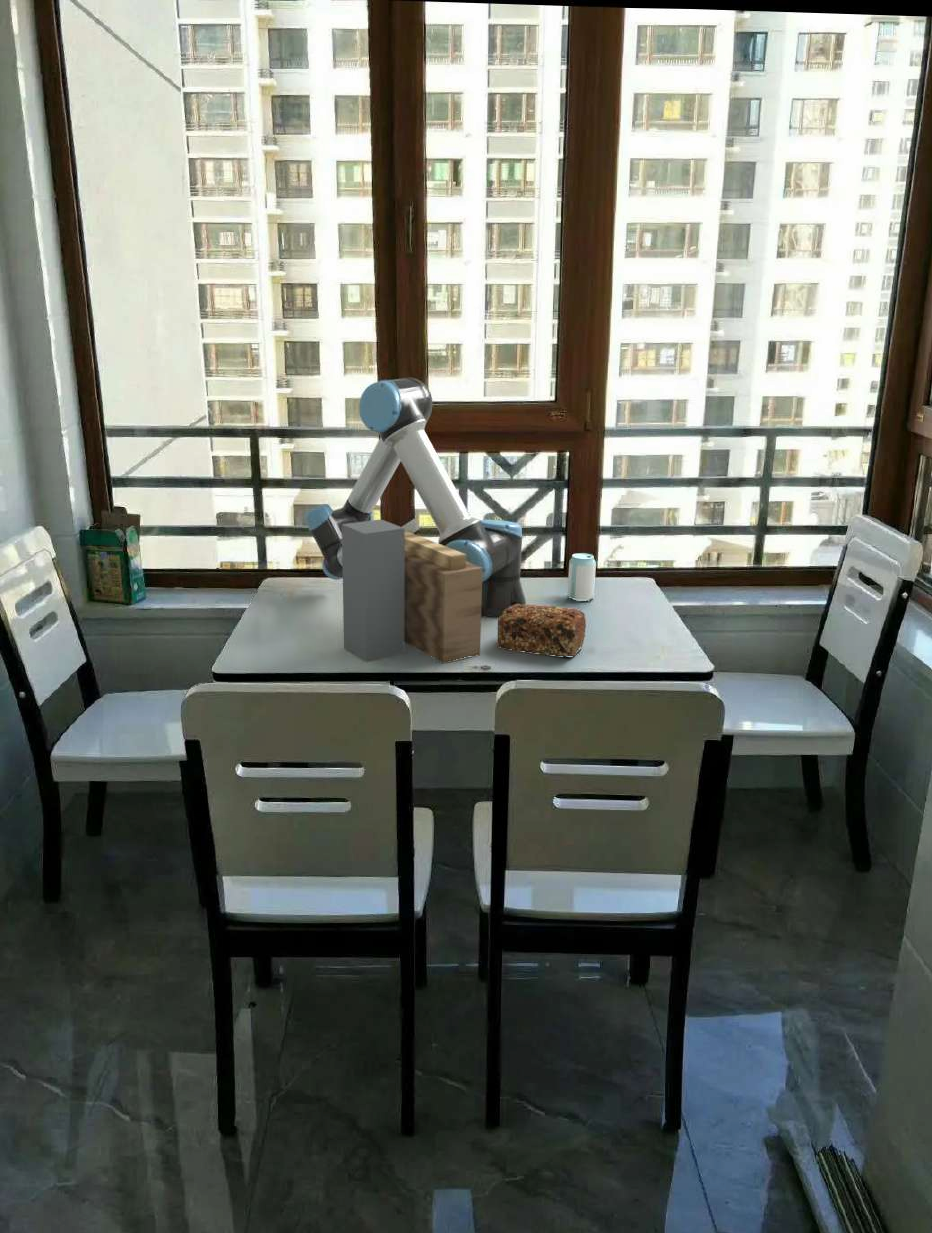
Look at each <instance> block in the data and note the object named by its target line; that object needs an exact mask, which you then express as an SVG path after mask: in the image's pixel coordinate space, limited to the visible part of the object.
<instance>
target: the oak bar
mask: <svg viewBox="0 0 932 1233" xmlns="http://www.w3.org/2000/svg"><path fill="white" fill-rule="evenodd" d="M405 552H409V553H411V554H413V555H416V556H418V557H421V558H423V559H426V560H428V561H430V562H433V563H435V564H438V565H440V566H442V567H445V568H447V569H450V570H455V569H461V568H466V554H464V553H461V552H459V551H456V550H454V549H451V548H448V547H446V546H443V545H441V544H439V543H438V542H435V541H432V540H430V539H427V538H424V537H422V536H420V535H418V534H415V533H414V534H412V533H410V532H407V531H405Z"/></svg>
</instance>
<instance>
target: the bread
mask: <svg viewBox="0 0 932 1233" xmlns="http://www.w3.org/2000/svg"><path fill="white" fill-rule="evenodd" d="M585 615H586V614H585V613H584V612H583V611H581V610H579V609H577V608H570V607H569V608H568V607H559V606H558V607H557V606H554V605H551V606H550V605H537V604H526V605H525V604H514V605H513V606H510V607H509V608H508V609H505V610H504V611H503V613H502V615H501V616H500V617H499V619H497V620H498V621H497V637H496V638H497V644H498V648H499V647H501V648H506V649H505V650H509V649H512V650H511V651H513V650H519V651H525V652H524V653H527V652H532V653H539V654H538V655H540V654H548V655H555V656H574V655H575V654H576V652H577V651H578V650H579V648H580V647H582V648H583V646H584V641H585V637H586V628H587V627H586V626H587V624H586V622H587V621H586V616H585ZM582 645H583V646H582ZM501 648H500V649H501ZM519 651H518V652H519ZM532 653H531V654H532ZM575 656H576V655H575ZM575 656H574V657H575Z"/></svg>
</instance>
